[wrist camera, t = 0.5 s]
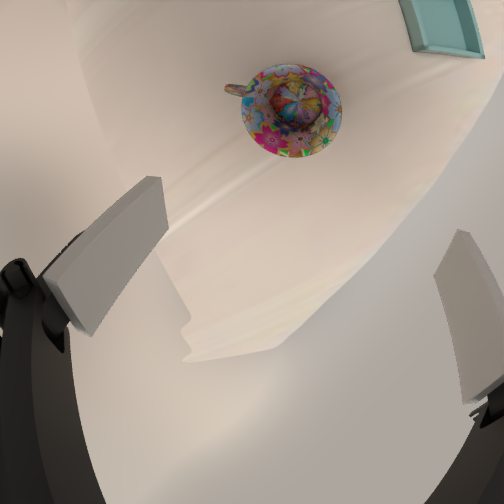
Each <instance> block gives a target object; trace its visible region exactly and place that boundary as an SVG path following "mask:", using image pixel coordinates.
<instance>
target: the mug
mask: <svg viewBox="0 0 504 504" xmlns="http://www.w3.org/2000/svg"><path fill="white" fill-rule="evenodd" d="M224 90H225V91H226V92H227V93H230V94H233V95H237V96H241V97H243V99H242V117H243V121H244V124H245V127H246V129H247V131H248V132H249V134H250V135H251V137H252V138H253V139H254V140H255V141H256V142H257V143H258V144H259V145H260V146H262V147H263V148H264V149H266V150H268V151H270V152H272V153H274V154H277V155H280V156H284V157H304V156H309V155H312V154H314V153H317V152H318V151H320V150H322V149H323V148H325V147H326V146H327V145H328V144H329V143H330V142H331V141H332V140H333V139H334V137H335V136H336V134H337V132H338V130H339V127H340V124H341V118H342V108H341V102H340V99H339V96H338V94H337V92H336V90H335V89H334V87H333V86H332V84H331V83H330V82H329V81H328V80H327V79H326V78H325V77H324V76H323V75H321V74H320V73H318V72H317V71H315V70H313V69H311V68H308V67H306V66H302V65H297V64H281V65H276V66H273V67H270V68H268V69H266V70H264V71H262V72H261V73H259V74H258V75H257V76H256V77H255V78H254V79H253V80H252V81H251V82H250V83H249V85H248V86H242V85H234V84H227V85H226V86H225V88H224Z"/></svg>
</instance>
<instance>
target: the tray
mask: <svg viewBox="0 0 504 504" xmlns="http://www.w3.org/2000/svg"><path fill="white" fill-rule="evenodd" d="M398 1H399V3H400V6H401V10H402V13H403V16H404V19H405V23H406V26H407V30H408V33H409V37H410V41H411V46H412V50H413V52H426V53H436V54H445V55H452V56H459V57H465V58H476V59H485V56H484V51H483V46H482V41H481V37H480V33H479V29H478V25H477V22H476V18H475V15H474V11H473V8H472V5H471V2H470V0H398Z"/></svg>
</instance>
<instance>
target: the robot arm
mask: <svg viewBox="0 0 504 504" xmlns="http://www.w3.org/2000/svg"><path fill="white" fill-rule="evenodd" d="M168 229H169V227H168V221H167V214H166V208H165V201H164V194H163V187H162V180H161V177H154V176H146V177H145V178H144V179H143V180H141V181H140V182H139V183H138V184H136V185H135V186H134V187H133V188H132V189H130V190H129V191H128V192H127V193H126V194H125V195H123V196H122V197H121V198H120V199H119V200H117V201H116V202H115V203H114V204H113V205H112V206H111V207H110V208H108V209H107V210H106V211H105V212H104V213H103V214H102V215H101V216H100V217H99V218H98V219H97V220H95V221H94V222H93V223H92V224H91V225H90V226H89V227H88V228H87V229H86V230H84V231H83V232H81V233H80V234H78V235H76V236H75V237H74V238H73V239H72V240H71V241H70V242H69V243H68V246H65V248H64V249H63V250H62V251H61V253H59V254H58V255H57V256H56V257H55V258H54V259H53V260H52V261H51V262H50V264H49V265H48V266H47V267H46V268H45V269H44V270H43V271H42V273H41V274H40V275H39V276H38V277H37V278H35V276H34V275H33V273H32V271H31V269H30V267H29V265H28V264H27V262H26V260H25V259H23V258H18V259H15V260H13V261H11V262H9V263H8V264H7V265H6V266H5V267H4V268H3V269H2V270H1V272H0V327H1V328H2V330H3V335H2V337H1V336H0V504H106V502H105V500H104V497H103V495H102V492H101V490H100V487H99V484H98V482H97V479H96V476H95V473H94V470H93V467H92V463H91V460H90V457H89V454H88V450H87V446H86V442H85V438H84V435H83V430H82V426H81V421H80V417H79V412H78V406H77V400H76V394H75V387H74V380H73V372H72V362H71V353H70V352H71V351H70V336H69V330H68V327H67V324H68V323H69V321H71V323H72V324H73V326H74V327H75V329H76V330H77V331H79V332H81V333H83V334H85V335H87V336H89V337H92V336H93V334H94V333H95V331H96V329H97V328H98V326H99V325H100V323H101V322H102V320H103V318H104V317H105V315H106V314H107V312H108V311H109V309H110V308H111V306H112V305H113V303H114V302H115V300H116V299H117V298H118V296H119V295H120V293H121V292H122V290H123V289H124V287H125V286H126V285H127V283H128V282H129V280H130V279H131V278H132V276H133V275H134V274H135V272H136V271H137V269H138V268H139V267H140V265H141V264H142V263H143V261H144V260H145V259H146V257H147V256H148V255H149V253H150V252H151V251H152V249H153V248H154V247H155V246H156V244H157V243H158V242H159V240H160V239H161V238H162V237H163V235H164V234H165V233H166V231H167V230H168ZM434 278H435V281H436V284H437V287H438V290H439V294H440V297H441V300H442V303H443V307H444V310H445V314H446V317H447V321H448V324H449V329H450V333H451V337H452V342H453V346H454V351H455V356H456V360H457V366H458V371H459V378H460V385H461V393H462V401H463V405H464V404H472V403H477V402H478V401H480V400H481V399H483V398H484V397H485V396H487V397H488V401H487V402H486V403H485V404H483V405H482V406H480V407H479V408H477V409H476V410H474V411H472V412H471V414H470V415H469V416H470V417H472V416H473V415H475V414H476V413H479V415H477V416H476V417H474V418H473V420H474V421H475V423H474V425H473V427H472V429H471V431H470V433H469V435H468V437H467V439H466V441H465V443H464V445H463V447H462V448H461V450H460V452H459V454H458V455H457V457H456V459H455V460H454V462H453V464H452V465H451V467H450V468H449V470H448V472H447V473H446V474H445V476H444V478H443V479H442V480H441V482H440V483H439V485H438V486H437V488H436V489H435V490H434V492H433V493H432V494H431V496H430V497H429V498H428V500H427V501H426V502H425V503H424V504H504V296H503V294H502V292H501V290H500V288H499V286H498V283H497V282H496V279H495V277H494V275H493V273H492V271H491V269H490V267H489V266H488V264H487V262H486V260H485V258H484V257H483V255H482V253H481V251H480V249H479V248H478V246H477V244H476V243H475V241H474V240H473V238H472V236H471V235H470V233H469V232H466V231H462V230H459V229H458V230H457V231H456V233H455V236H454V238H453V240H452V242H451V244H450V246H449V248H448V250H447V252H446V254H445V255H444V257H443V259H442V261H441V263H440V265H439V267H438V269H437V270H436V272H435V274H434Z"/></svg>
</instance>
